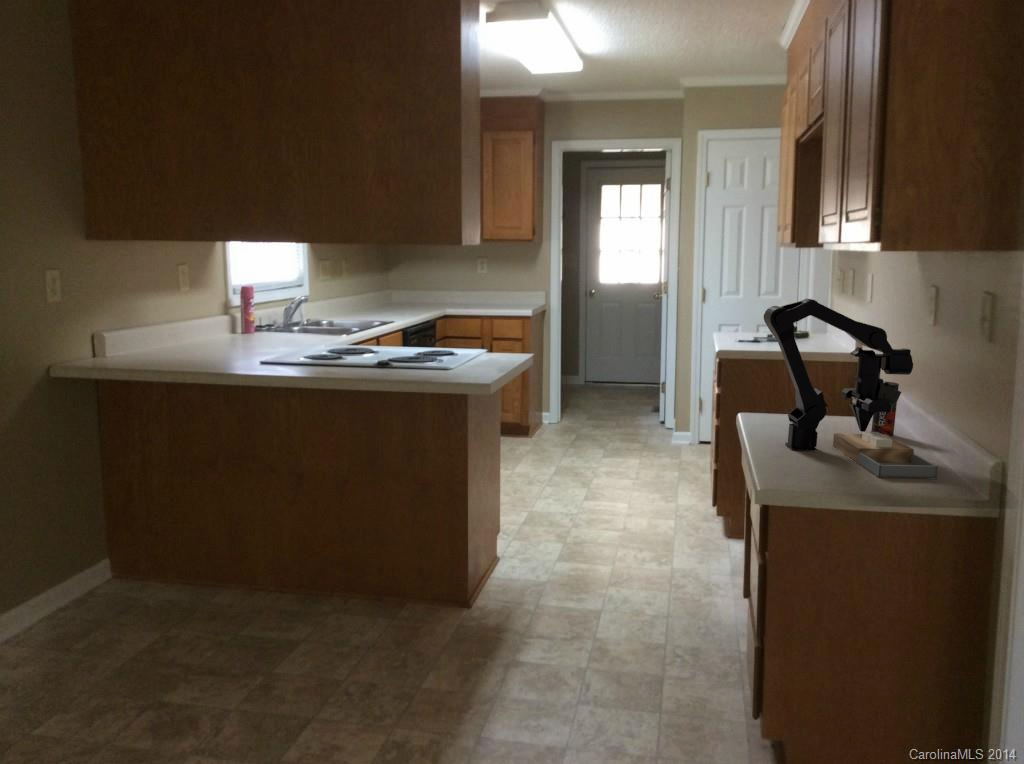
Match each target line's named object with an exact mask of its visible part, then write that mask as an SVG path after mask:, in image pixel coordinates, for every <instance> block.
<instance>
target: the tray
mask: <svg viewBox="0 0 1024 764" xmlns="http://www.w3.org/2000/svg"><path fill="white" fill-rule="evenodd" d="M856 464H857V465H858V464H859V465H858V466H859V467H861V466H862V467H861V468H863V469H864V470H865V471H867V472H869V473H870V474H872V475H873V476H875V477H876V478H879V479H882V478H883V479H884V478H885V479H920V478H937V479H938V469H939V466H938V465H936V464H934V463H932V462H930V461H928V460H927V459H925V458H923V457H922V456H919V455H918V454H915V453H914V454H911V463H877V462H876V461H874V460H872V459H871V458H869V457H867V456H866V455H864V454H863V453H861V452H859V453H858V463H856Z"/></svg>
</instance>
